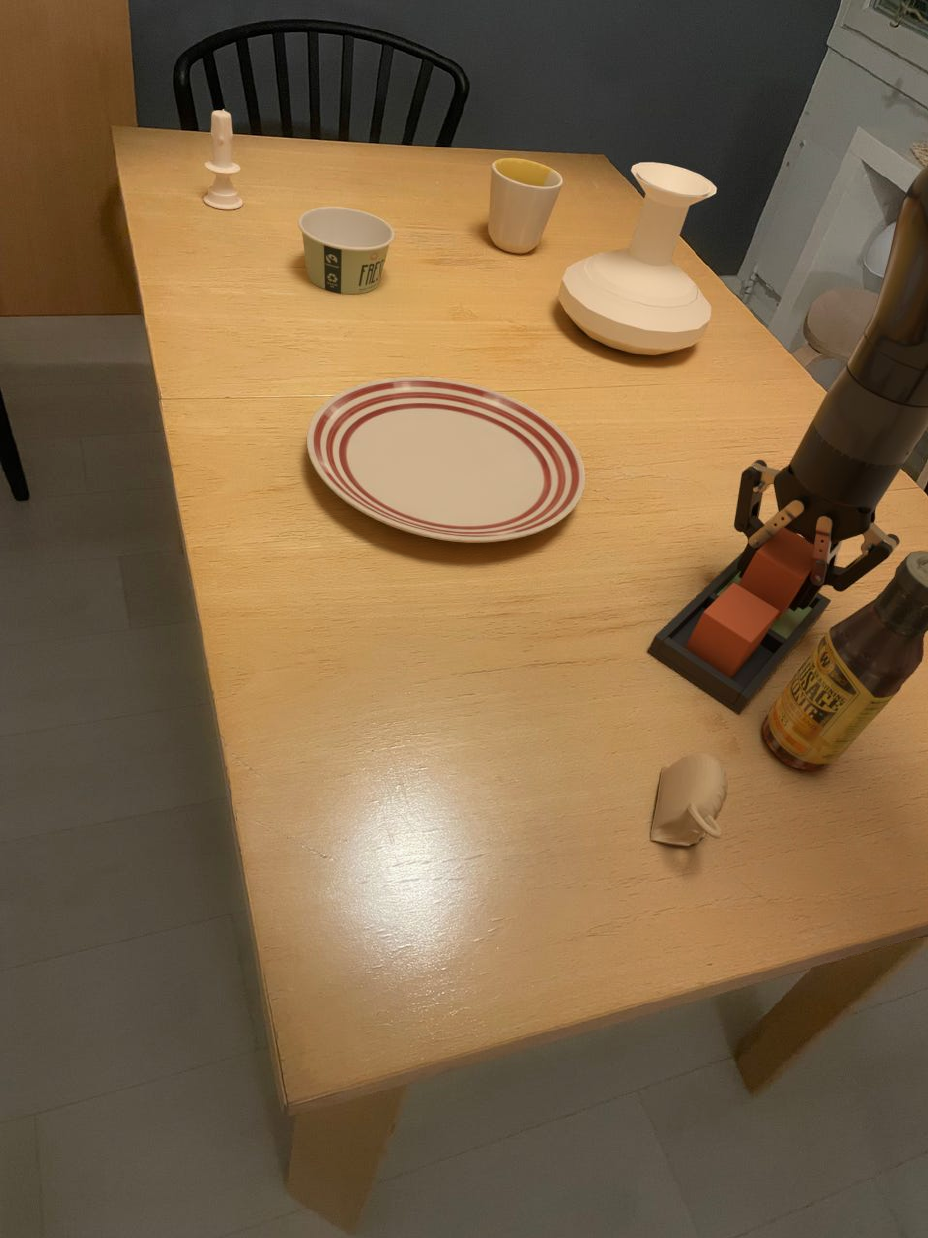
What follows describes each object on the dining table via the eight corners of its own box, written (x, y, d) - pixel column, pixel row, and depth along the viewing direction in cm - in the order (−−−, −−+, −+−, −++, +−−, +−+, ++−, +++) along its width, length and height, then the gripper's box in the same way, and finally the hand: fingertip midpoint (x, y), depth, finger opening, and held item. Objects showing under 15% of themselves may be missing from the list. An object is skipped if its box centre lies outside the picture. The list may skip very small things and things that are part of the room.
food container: (317, 247, 118) (320, 197, 113) (401, 272, 117) (407, 223, 113) (280, 281, 110) (282, 229, 105) (370, 308, 109) (376, 257, 104)
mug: (550, 265, 127) (568, 190, 120) (481, 255, 125) (495, 179, 118) (539, 226, 137) (555, 155, 129) (474, 216, 135) (487, 144, 128)
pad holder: (821, 615, 82) (831, 600, 81) (738, 715, 72) (749, 699, 70) (737, 564, 86) (746, 548, 84) (647, 652, 75) (654, 635, 73)
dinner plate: (310, 385, 95) (311, 357, 92) (554, 410, 100) (561, 384, 97) (299, 557, 76) (301, 527, 73) (601, 577, 81) (611, 550, 78)
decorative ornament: (714, 785, 66) (742, 743, 62) (700, 878, 60) (729, 839, 57) (663, 765, 67) (687, 723, 63) (644, 856, 61) (669, 815, 57)
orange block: (802, 592, 80) (828, 551, 77) (777, 620, 77) (803, 579, 73) (760, 566, 82) (783, 525, 78) (733, 592, 79) (756, 551, 75)
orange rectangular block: (755, 650, 77) (780, 610, 73) (727, 682, 73) (751, 642, 70) (712, 622, 78) (733, 581, 75) (682, 652, 75) (703, 611, 71)
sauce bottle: (747, 712, 72) (867, 528, 58) (816, 713, 73) (949, 534, 59) (775, 780, 68) (912, 598, 54) (848, 780, 69) (1000, 603, 55)
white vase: (709, 381, 111) (773, 228, 97) (555, 354, 109) (598, 194, 95) (686, 308, 125) (739, 166, 111) (549, 283, 123) (586, 135, 109)
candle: (249, 200, 125) (248, 108, 116) (233, 213, 121) (232, 118, 113) (213, 190, 125) (210, 97, 117) (196, 203, 121) (192, 108, 113)
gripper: (760, 404, 67) (683, 566, 79) (935, 497, 62) (825, 656, 74) (799, 375, 72) (721, 532, 84) (966, 460, 67) (857, 614, 79)
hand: (770, 589), depth 79 cm, fingers closed on orange block, 4 cm apart
